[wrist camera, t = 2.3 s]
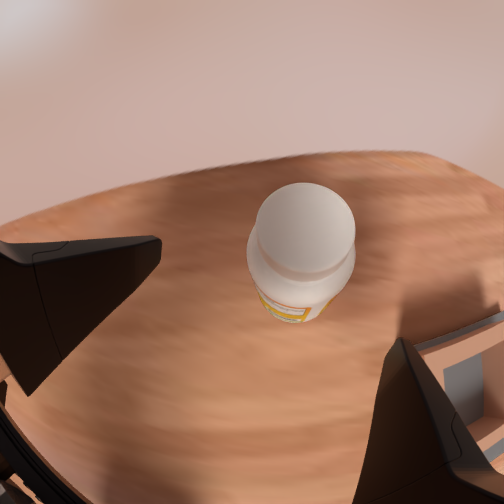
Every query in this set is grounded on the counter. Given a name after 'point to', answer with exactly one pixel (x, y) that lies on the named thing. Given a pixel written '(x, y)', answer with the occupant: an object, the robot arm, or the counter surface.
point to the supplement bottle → (301, 250)
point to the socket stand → (473, 378)
